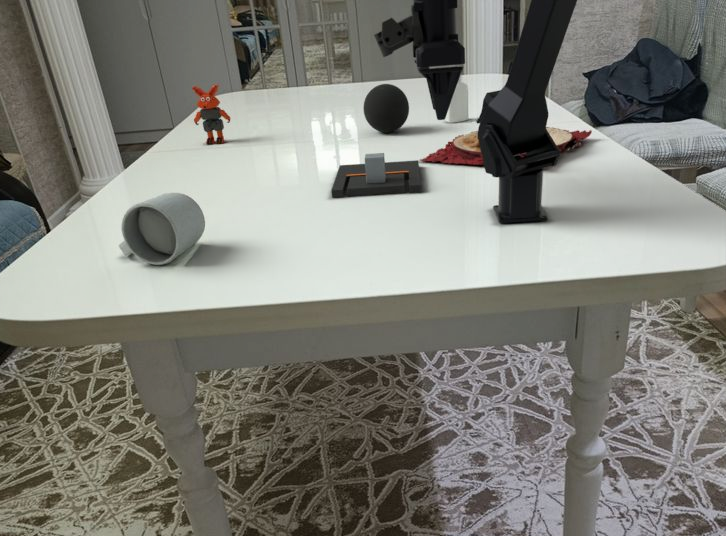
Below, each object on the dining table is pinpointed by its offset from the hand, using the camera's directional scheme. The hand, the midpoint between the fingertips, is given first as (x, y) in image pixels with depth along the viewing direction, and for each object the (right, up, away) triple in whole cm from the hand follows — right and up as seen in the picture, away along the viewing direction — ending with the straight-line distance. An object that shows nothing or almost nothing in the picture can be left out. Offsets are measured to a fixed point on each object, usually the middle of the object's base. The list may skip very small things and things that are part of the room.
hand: (438, 114), depth 93 cm
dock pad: (-9, -6, +13) cm, 18 cm away
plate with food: (+15, +3, +27) cm, 30 cm away
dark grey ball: (-8, +14, +49) cm, 52 cm away
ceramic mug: (-36, -22, -11) cm, 44 cm away
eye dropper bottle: (+8, +19, +55) cm, 59 cm away
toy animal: (-47, +12, +50) cm, 70 cm away
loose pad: (-9, -8, +10) cm, 16 cm away
